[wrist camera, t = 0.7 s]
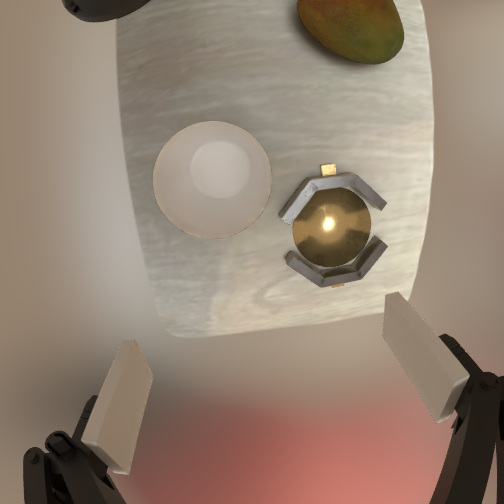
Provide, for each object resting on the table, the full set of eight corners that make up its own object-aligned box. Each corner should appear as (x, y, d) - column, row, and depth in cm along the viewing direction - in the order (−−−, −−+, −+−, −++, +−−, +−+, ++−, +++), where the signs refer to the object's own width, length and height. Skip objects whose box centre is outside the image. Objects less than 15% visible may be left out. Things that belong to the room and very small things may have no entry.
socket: (272, 171, 32) (274, 173, 30) (375, 159, 32) (384, 160, 30) (289, 293, 37) (292, 302, 35) (380, 275, 37) (387, 282, 35)
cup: (178, 206, 33) (150, 238, 22) (182, 127, 30) (153, 118, 19) (257, 210, 34) (268, 244, 22) (264, 131, 31) (280, 123, 19)
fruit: (309, -24, 23) (330, -65, 14) (395, 22, 25) (437, -3, 16) (275, 39, 27) (290, 2, 17) (371, 87, 29) (416, 72, 20)
